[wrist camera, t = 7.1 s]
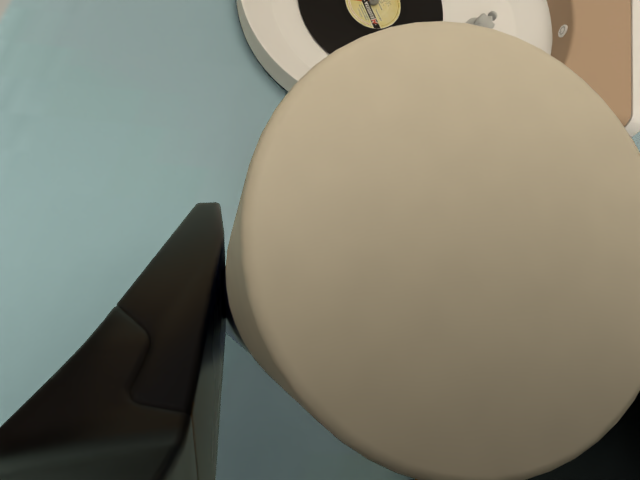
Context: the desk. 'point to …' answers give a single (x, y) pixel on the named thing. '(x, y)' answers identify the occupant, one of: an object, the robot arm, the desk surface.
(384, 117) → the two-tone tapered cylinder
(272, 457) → the desk surface
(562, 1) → the record player
